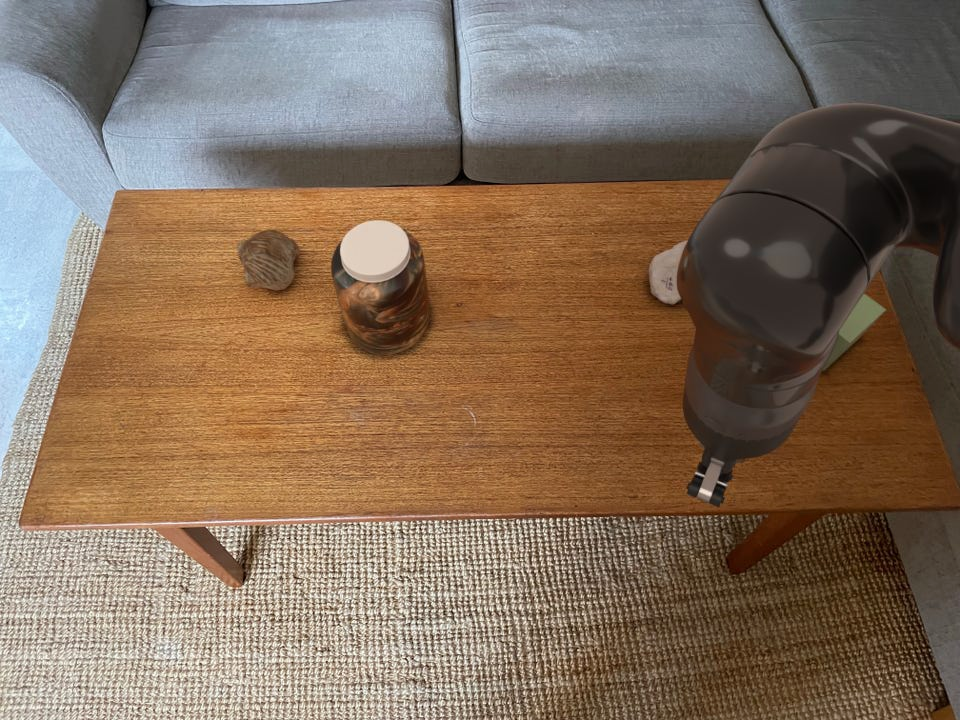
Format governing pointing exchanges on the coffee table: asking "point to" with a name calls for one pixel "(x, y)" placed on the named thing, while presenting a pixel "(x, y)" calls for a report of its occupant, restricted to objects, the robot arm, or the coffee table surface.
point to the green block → (856, 326)
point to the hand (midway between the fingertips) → (720, 460)
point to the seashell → (268, 259)
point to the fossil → (666, 274)
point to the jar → (381, 287)
